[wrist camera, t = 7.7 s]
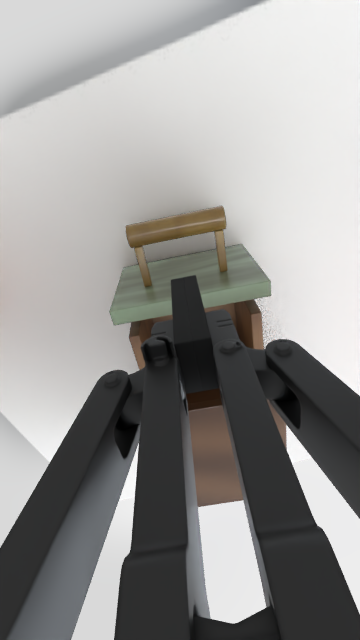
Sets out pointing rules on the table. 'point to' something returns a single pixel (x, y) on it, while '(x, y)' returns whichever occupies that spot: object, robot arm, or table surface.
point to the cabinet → (216, 453)
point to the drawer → (209, 267)
